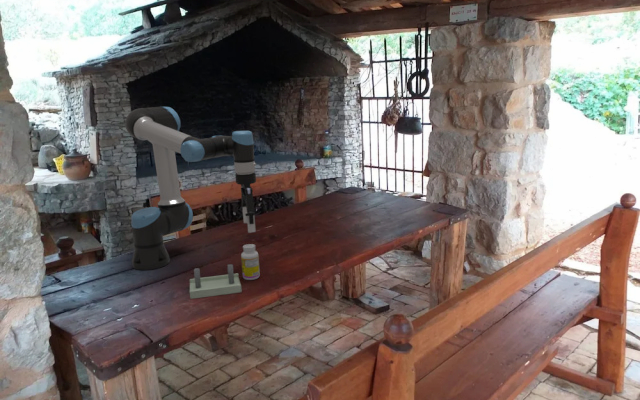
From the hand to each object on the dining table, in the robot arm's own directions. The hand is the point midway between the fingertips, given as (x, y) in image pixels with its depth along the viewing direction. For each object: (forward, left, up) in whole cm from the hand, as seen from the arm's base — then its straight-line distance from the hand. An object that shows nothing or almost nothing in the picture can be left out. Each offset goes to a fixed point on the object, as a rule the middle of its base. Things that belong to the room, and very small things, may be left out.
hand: (249, 227), depth 191 cm
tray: (-15, -9, -19) cm, 26 cm away
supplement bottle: (-1, -2, -20) cm, 20 cm away
